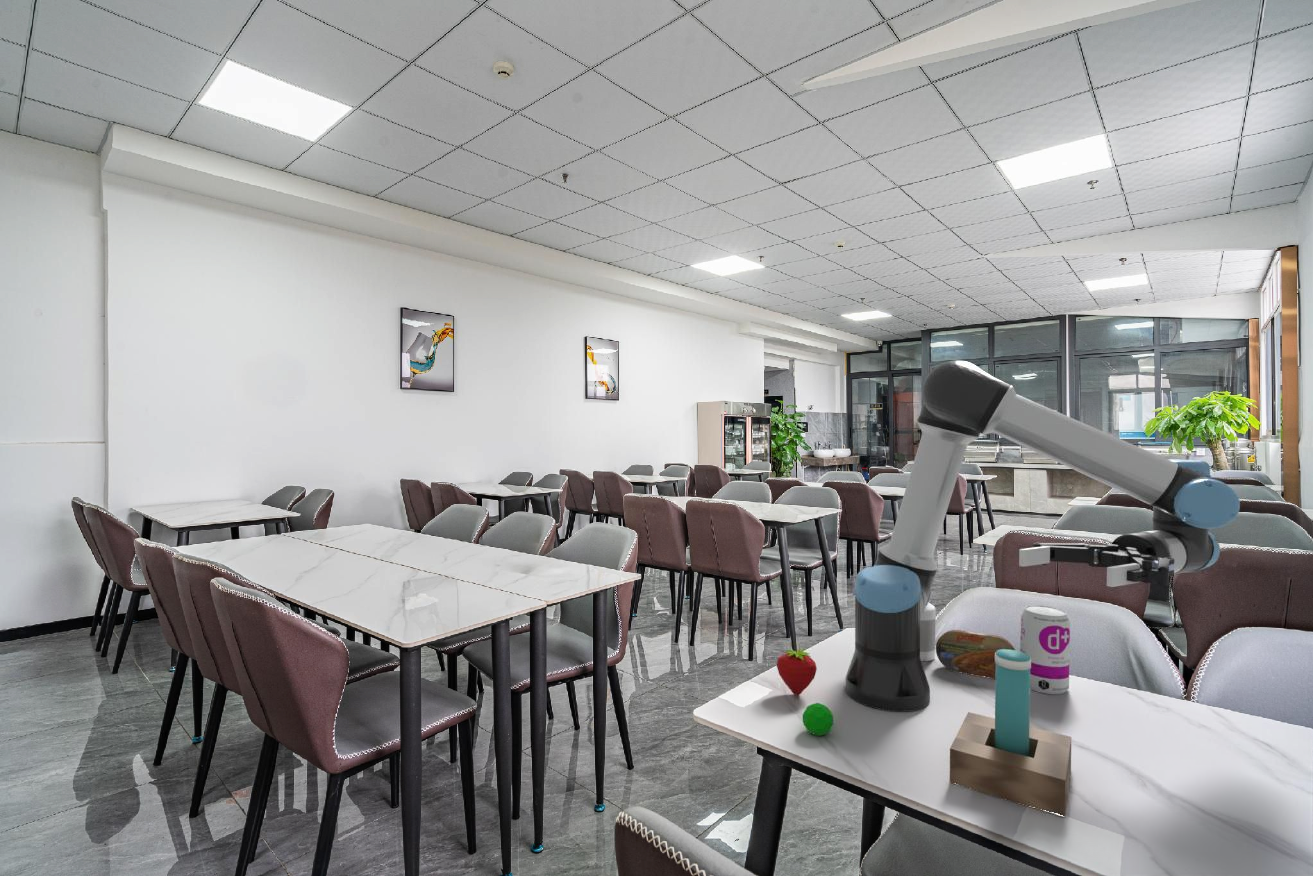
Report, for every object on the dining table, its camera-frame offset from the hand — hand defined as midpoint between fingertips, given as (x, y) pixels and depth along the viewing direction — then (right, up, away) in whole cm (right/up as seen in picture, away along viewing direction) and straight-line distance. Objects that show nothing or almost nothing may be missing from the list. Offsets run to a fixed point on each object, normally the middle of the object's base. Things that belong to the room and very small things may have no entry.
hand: (1062, 567), depth 98 cm
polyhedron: (-35, -30, +9) cm, 47 cm away
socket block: (-10, -30, -4) cm, 32 cm away
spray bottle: (-4, -29, +43) cm, 52 cm away
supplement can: (+14, -29, +27) cm, 42 cm away
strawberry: (-35, -29, +24) cm, 52 cm away
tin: (+4, -29, +34) cm, 45 cm away
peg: (-10, -30, -4) cm, 32 cm away
